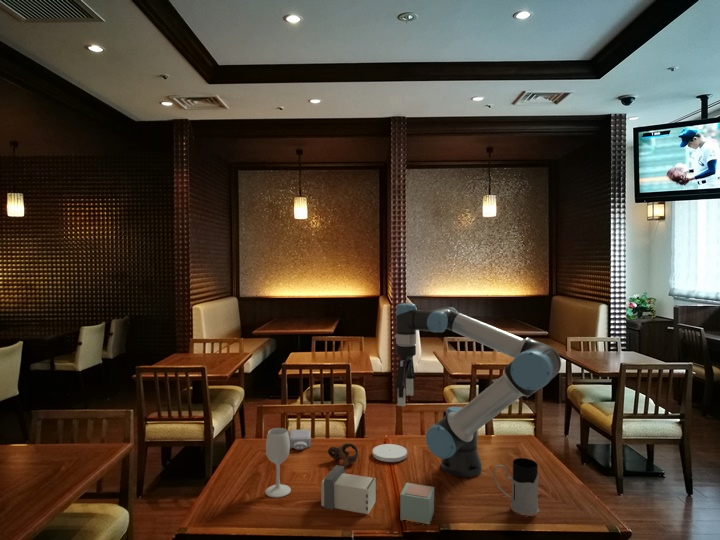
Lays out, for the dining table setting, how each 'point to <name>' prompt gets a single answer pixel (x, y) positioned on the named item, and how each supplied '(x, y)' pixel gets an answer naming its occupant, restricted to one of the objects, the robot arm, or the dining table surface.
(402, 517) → the retro monitor box
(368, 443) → the dining table surface
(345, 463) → the brown hollow ring
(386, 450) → the plastic lid
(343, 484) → the cream rectangular block
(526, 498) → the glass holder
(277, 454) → the wineglass
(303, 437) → the charger
